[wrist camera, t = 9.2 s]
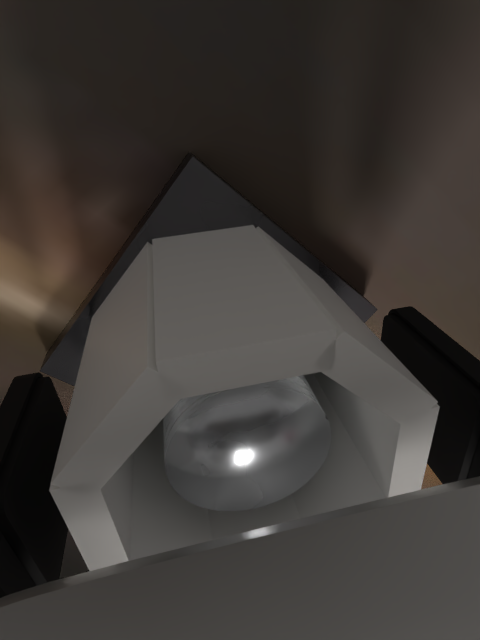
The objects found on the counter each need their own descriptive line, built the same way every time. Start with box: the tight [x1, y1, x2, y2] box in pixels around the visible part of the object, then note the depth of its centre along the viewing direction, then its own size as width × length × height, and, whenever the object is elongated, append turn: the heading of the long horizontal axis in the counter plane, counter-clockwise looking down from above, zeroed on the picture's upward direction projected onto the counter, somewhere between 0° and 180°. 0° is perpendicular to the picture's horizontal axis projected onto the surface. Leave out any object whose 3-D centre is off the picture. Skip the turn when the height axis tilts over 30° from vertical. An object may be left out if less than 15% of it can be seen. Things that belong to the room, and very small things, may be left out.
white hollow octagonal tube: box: [49, 225, 440, 571], centre depth 11 cm, size 7×7×6 cm
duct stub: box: [40, 152, 377, 511], centre depth 12 cm, size 8×8×6 cm
